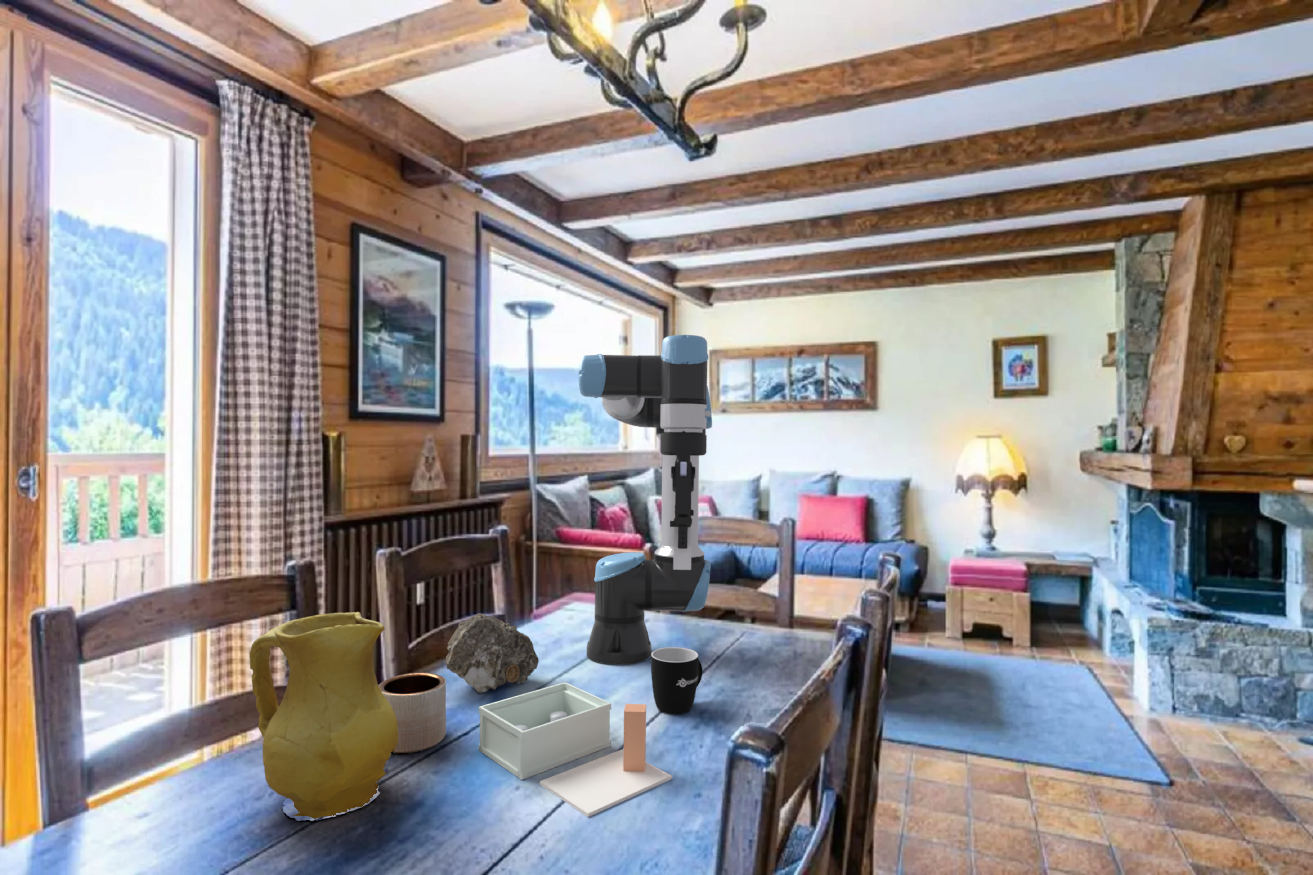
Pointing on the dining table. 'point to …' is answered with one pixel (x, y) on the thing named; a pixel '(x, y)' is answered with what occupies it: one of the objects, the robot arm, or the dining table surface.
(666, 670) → the mug
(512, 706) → the tub
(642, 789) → the lid
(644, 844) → the dining table surface
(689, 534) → the robot arm
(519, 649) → the rock
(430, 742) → the planter
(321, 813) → the pitcher
